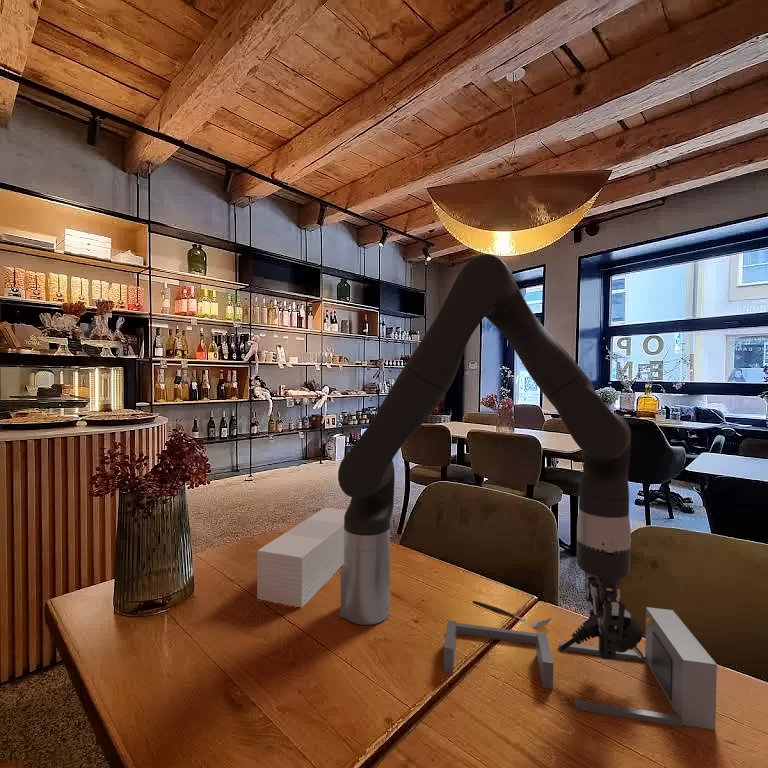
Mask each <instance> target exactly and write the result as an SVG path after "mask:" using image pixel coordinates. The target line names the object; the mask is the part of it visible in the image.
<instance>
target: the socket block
mask: <svg viewBox="0 0 768 768" xmlns="http://www.w3.org/2000/svg"><path fill="white" fill-rule="evenodd" d="M565 643H566V642H563V641H559V642H558V648H559V650H560V651H562V650H561V649H560V646H562V645H563V644H565ZM644 650H645V651H644V652H645V653H643V652H641V653H642V654H643V658H639V657H638V656H637V654H636V653H635V652H634V651H631V650H630V651H629V650H627V651H626V652H622V653H620V652H616V658H615V659H623V660H630V661H631V660H632V661H639V662H644V663H645V662H646V664H647V666H648V667H649V669H650V671H651V672H652V674H653V676H654V678H655V681H656V682H657V683H658V685H659V687H660V689H661V690H662V692H663V694H664V695H665V697H666V699H667V702H668V703H669V704H670V706H671V707H672V709H673V711H674V714H671V713H670V714H669V713H664V712H658V711H652V710H645V709H638V708H634V707H628V706H621V705H614V704H609V703H602V702H597V701H596V702H595V701H590V700H582V699H578V698H575V699H574V700H575V703H574V705H575V708H576V710H577V711H584V712H589V713H596V714H601V715H606V716H613V717H620V718H625V719H631V720H637V721H643V722H648V723H656V724H662V725H666V726H673V727H679V728H680V727H681V728H683V727H684V726H689V727H695V728H701V729H707V730H713V731H716V726H717V725H716V722H717V720H716V715H717V681H718V680H717V679H718V678H717V674H718V673H717V671H718V670H717V669H718V664H717V662H715V661H714V659H713V658H712V657H711V655H710V654H709V653H708V652H707V650H706V649H705V648H704V647H703V646H702V644H701V643H700V642H699V641H698V639H697V638H696V637H695V636H694V634H693V633H692V632H691V631H690V629H689V628H688V627H687V625H685V624H684V622H683V621H682V619H681V618H680V617H679V616H678V614H677V613H676V612H675V611H674V610H673V609H667V608H666V609H665V608H657V607H648V606H645V647H644ZM564 651H566V652H567V651H568V652H575V653H581V654H589V655H594V656H600V655H599V646H592V645H586V644H585V645H584V644H577V643H574V644H572V645H571V646H569V647H568V648H566V649H565V650H564Z"/></svg>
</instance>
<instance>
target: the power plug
mask: <svg viewBox="0 0 768 768" xmlns="http://www.w3.org/2000/svg"><path fill="white" fill-rule="evenodd" d="M603 609H604V608H601V609H600V611H603ZM609 626H610V627H612V625H609ZM598 628H599V626H598V617H597V616H596V615H595V614H593V615H591V616H590V615H589V617H588V619H586V621H585V620H584V621H583V623H582V624H580V626H579V627H578V628H577V629H576V630H575V631H574V632H572V634H571V637H572V638H570V639H569V640H568V641H566V642H564V643H565V644H563V645H562V646H560V648H559V650H560V649H561V650H560V651H562V652H563V651H565V649H566V648H568V647H569V646H571V645H572V644H579V645H582V643H585V642H587V641H588V640H589V641H590V640H591V639H594V638H598V637H597V636H598V635H599V631H598ZM643 634H644V629H643V627H642V626H641V625H640V624H639V623H638V621H637V620H636V619H635V618H634V616H633V615H632V614H631V613H630V612H629V611H628V610H627V609H625V613H624V624H623V634H622V635H623V637H622V639H616V652H620V653H622V652H626V651H629V650H630V651H632V652H635V653H636V654H637V656H638V657H639V658H643V654H642V653H643V652H642V651H641V650H640V649H639V648H638V644H639V643H641V641H642V639H643V636H644V635H643Z"/></svg>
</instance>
